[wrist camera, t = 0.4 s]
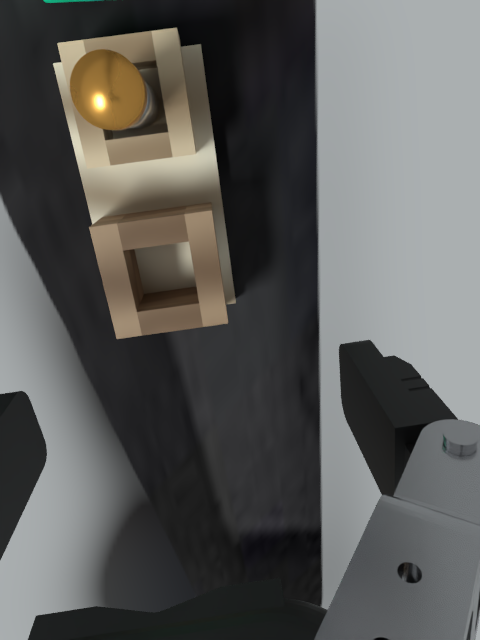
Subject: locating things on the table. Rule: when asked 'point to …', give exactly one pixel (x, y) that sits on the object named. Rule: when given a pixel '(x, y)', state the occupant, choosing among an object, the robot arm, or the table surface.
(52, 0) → the camera mount
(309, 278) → the table surface
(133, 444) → the table surface
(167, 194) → the dock board
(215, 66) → the table surface
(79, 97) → the lock pin
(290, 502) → the table surface
